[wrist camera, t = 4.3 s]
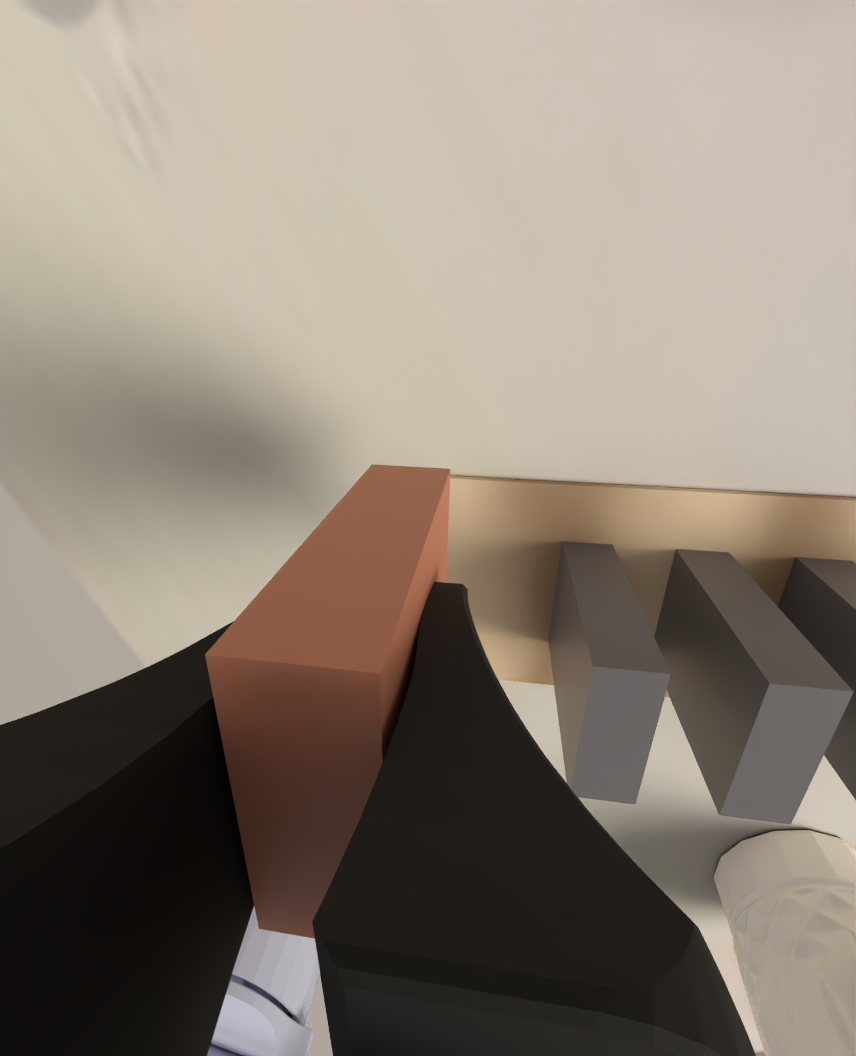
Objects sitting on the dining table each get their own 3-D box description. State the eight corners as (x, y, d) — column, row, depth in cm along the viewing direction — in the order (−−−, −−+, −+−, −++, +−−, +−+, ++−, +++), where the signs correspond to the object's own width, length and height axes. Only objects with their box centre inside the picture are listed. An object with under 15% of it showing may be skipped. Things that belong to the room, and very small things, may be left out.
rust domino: (376, 632, 13) (258, 928, 7) (372, 464, 11) (204, 655, 5) (444, 639, 13) (387, 951, 7) (450, 469, 11) (380, 673, 5)
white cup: (796, 939, 26) (949, 1272, 17) (667, 881, 26) (755, 1193, 17) (922, 863, 23) (1193, 1227, 14) (776, 795, 22) (958, 1126, 13)
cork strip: (403, 665, 22) (401, 669, 22) (400, 473, 18) (399, 475, 18) (1068, 732, 19) (1077, 738, 19) (1229, 517, 15) (1241, 521, 15)
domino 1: (548, 642, 20) (568, 795, 14) (562, 540, 18) (592, 666, 12) (593, 646, 20) (635, 804, 14) (612, 544, 18) (670, 673, 12)
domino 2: (650, 651, 20) (719, 815, 14) (675, 548, 18) (769, 683, 12) (698, 655, 20) (790, 824, 13) (728, 552, 18) (854, 691, 11)
